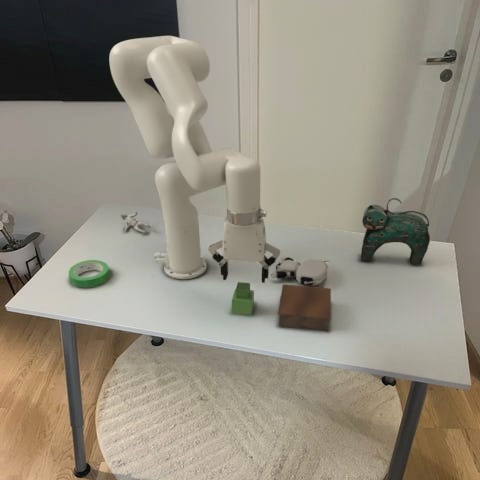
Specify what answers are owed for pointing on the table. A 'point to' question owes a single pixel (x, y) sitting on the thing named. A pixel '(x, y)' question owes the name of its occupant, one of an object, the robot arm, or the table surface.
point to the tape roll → (92, 280)
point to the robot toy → (302, 271)
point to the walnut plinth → (305, 307)
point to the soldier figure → (133, 222)
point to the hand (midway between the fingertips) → (244, 278)
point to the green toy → (243, 299)
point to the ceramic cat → (394, 232)
